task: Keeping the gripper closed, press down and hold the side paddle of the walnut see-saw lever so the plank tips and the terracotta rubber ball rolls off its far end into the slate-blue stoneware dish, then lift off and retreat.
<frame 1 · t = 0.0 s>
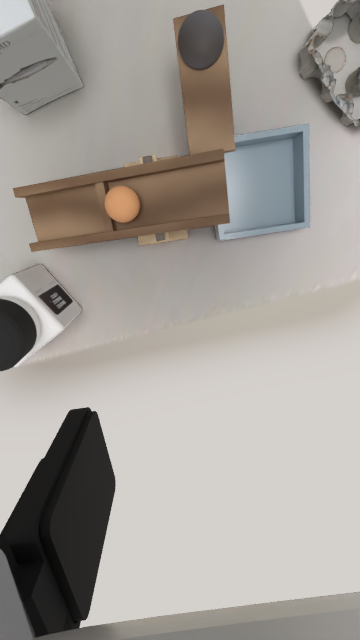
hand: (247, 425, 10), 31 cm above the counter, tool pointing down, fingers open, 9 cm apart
lever: (117, 151, 28), point 7 cm above the counter, hinge at 10.0°, touching ball
supplement box: (38, 65, 32), on the counter
container: (42, 303, 41), on the counter
ball: (122, 204, 29), point 9 cm above the counter, tilted 6°, touching lever
dish: (254, 187, 37), on the counter
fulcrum: (157, 202, 37), on the counter
egg carton: (344, 72, 33), on the counter
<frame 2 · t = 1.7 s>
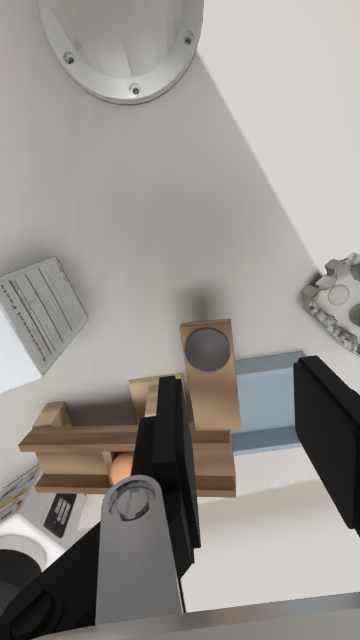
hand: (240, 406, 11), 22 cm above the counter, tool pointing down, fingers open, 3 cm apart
lever: (122, 419, 28), point 7 cm above the counter, hinge at 10.0°, touching ball
supplement box: (43, 300, 32), on the counter
container: (46, 491, 41), on the counter
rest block: (62, 423, 37), on the counter
ball: (128, 470, 29), point 9 cm above the counter, tilted 6°, touching lever
dish: (258, 395, 37), on the counter
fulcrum: (162, 410, 37), on the counter
egg carton: (348, 302, 33), on the counter
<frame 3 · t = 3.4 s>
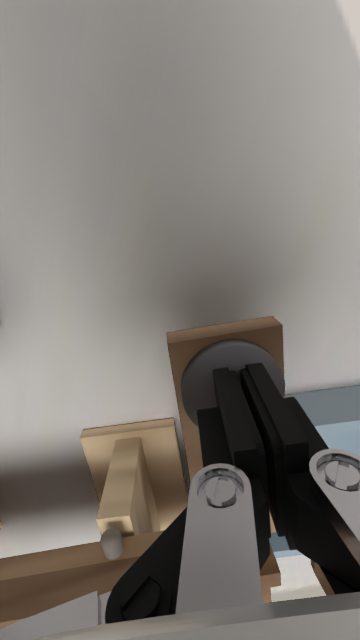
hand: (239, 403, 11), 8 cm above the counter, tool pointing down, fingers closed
lever: (44, 553, 13), point 8 cm above the counter, hinge at -3.1°, touching ball, gripper
dish: (301, 451, 22), on the counter
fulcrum: (140, 476, 22), on the counter
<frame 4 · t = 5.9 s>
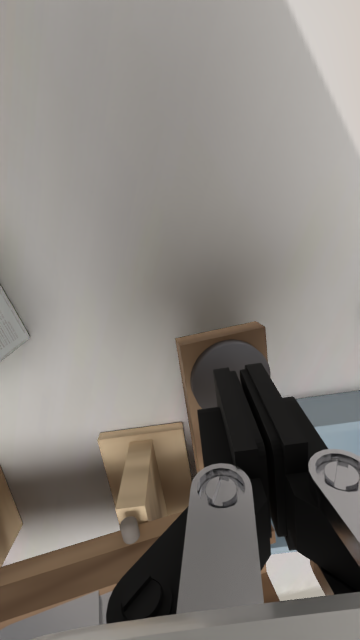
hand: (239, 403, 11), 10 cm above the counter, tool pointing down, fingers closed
lever: (73, 542, 15), point 8 cm above the counter, hinge at -11.6°
dish: (300, 454, 24), on the counter
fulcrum: (151, 477, 24), on the counter
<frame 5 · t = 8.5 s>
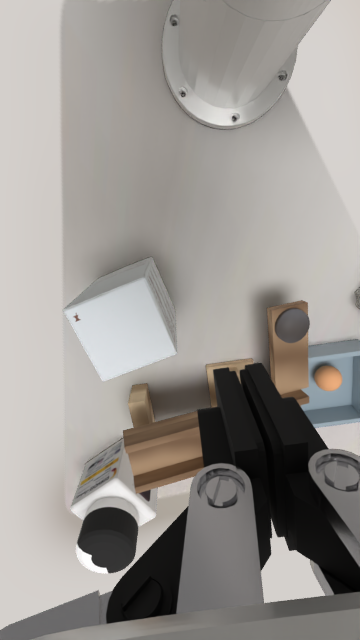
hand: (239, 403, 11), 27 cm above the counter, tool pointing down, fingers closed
lever: (220, 399, 33), point 8 cm above the counter, hinge at -11.6°
supplement box: (137, 294, 38), on the counter
container: (123, 464, 46), on the counter
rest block: (143, 403, 42), on the counter
ball: (328, 378, 39), point 2 cm above the counter, tilted 136°, touching dish
dish: (316, 378, 42), on the counter, touching ball
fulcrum: (231, 391, 42), on the counter
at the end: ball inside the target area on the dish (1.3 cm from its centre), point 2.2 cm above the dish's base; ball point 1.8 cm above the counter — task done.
